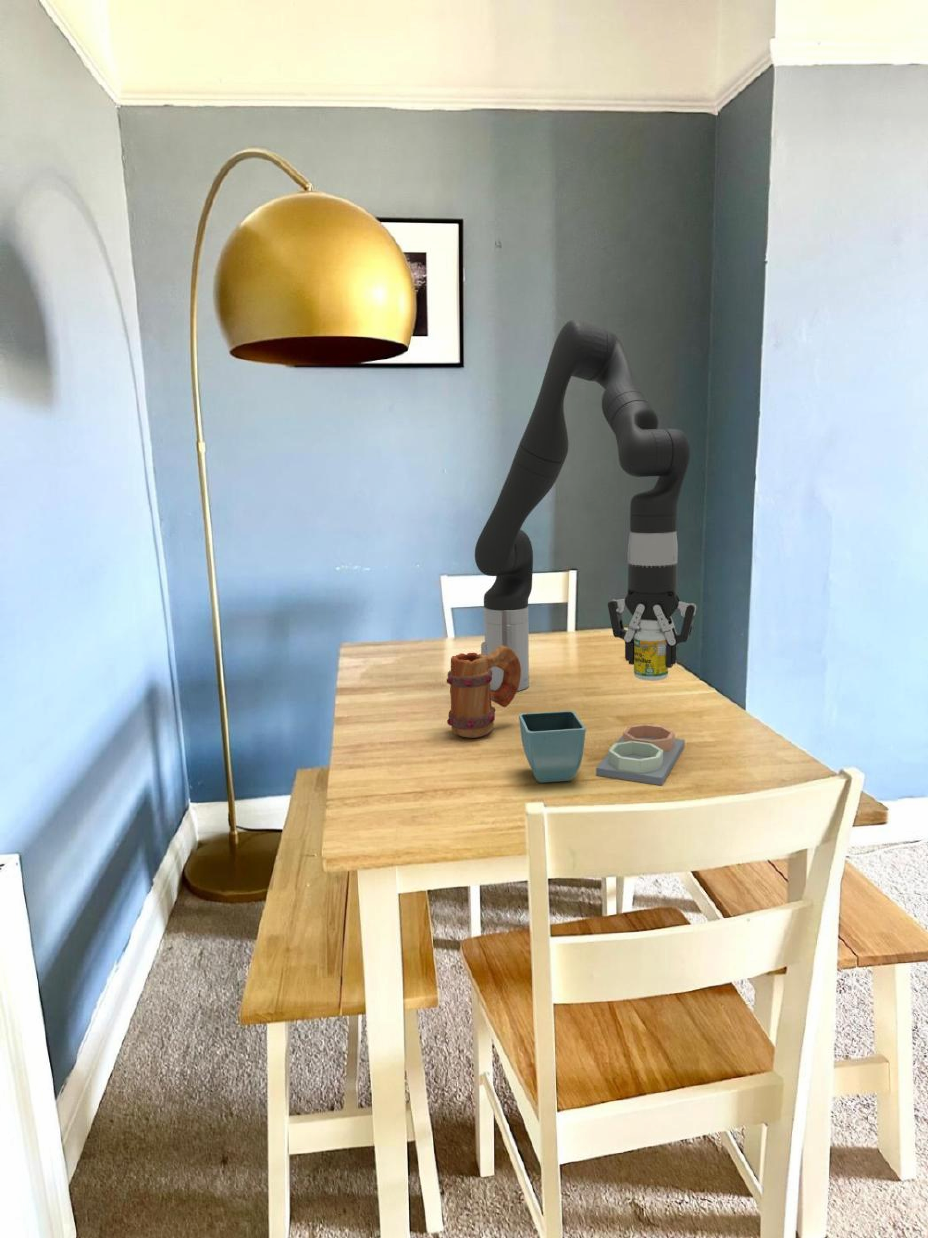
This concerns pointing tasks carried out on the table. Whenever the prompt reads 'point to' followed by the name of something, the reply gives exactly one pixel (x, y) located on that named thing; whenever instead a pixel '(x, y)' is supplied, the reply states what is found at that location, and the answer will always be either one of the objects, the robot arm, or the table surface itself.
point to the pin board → (642, 755)
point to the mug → (480, 690)
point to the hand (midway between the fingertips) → (650, 664)
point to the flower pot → (553, 744)
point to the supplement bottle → (650, 651)
